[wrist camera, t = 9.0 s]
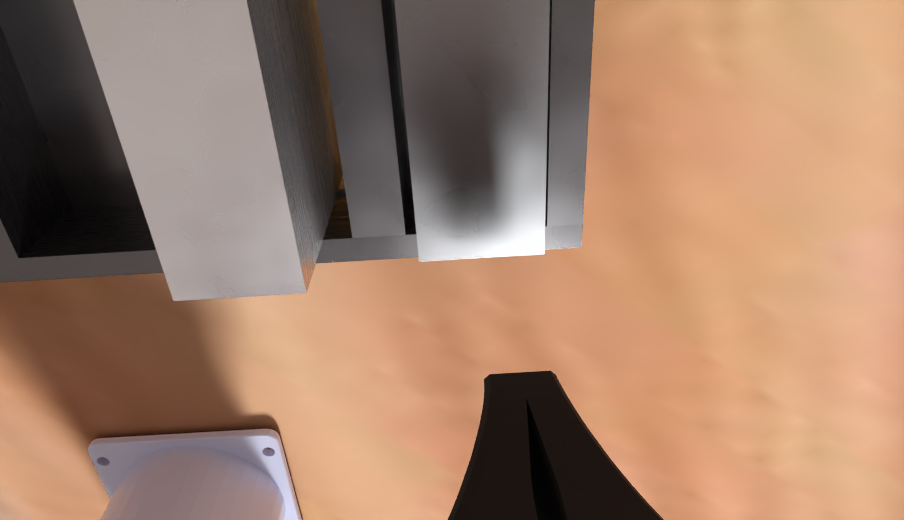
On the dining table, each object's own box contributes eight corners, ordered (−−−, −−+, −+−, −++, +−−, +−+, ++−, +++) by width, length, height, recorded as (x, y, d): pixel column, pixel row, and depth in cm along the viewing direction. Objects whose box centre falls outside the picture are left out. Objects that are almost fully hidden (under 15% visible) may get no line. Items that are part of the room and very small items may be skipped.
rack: (558, 189, 22) (603, 302, 16) (62, 219, 22) (-71, 342, 16) (570, -216, 16) (648, -270, 10) (-97, -172, 16) (-391, -202, 11)
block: (343, 171, 20) (306, 293, 14) (249, 177, 21) (173, 301, 14) (299, -120, 16) (221, -121, 10) (182, -113, 16) (37, -109, 10)
